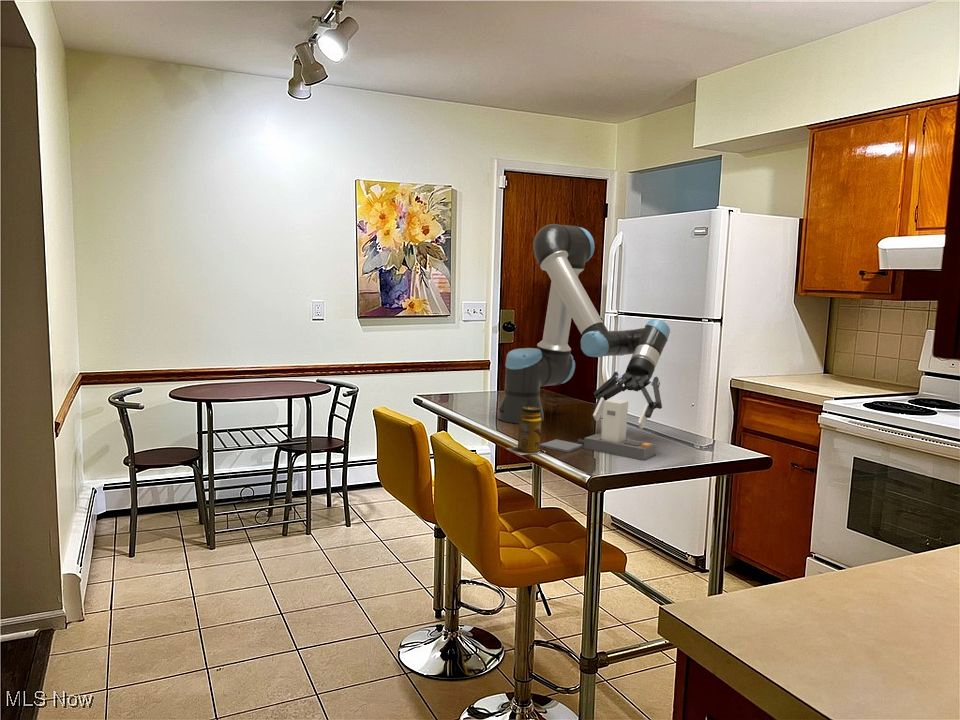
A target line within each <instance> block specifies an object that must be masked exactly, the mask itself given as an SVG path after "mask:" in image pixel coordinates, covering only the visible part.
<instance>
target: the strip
mask: <svg viewBox="0 0 960 720" xmlns="http://www.w3.org/2000/svg"><path fill="white" fill-rule="evenodd" d="M601 438H602V433H595V434H592V435H590V436H586V437H584V439H581V438H578V439H577V441H576V443H577V444H582V445H583V449H586V450H591V451H597V452H601V453H606V454H611V455H614V456H619V457H625V458H631V459H634V460H641V461H646V460H647V459H650V458H651V457H654V456H656V454H657V453H656V451H657V444H655V443H651V442H646V441H640V440H634V439H629V438H626V441H624V442H622V443H619V444H618V443H613V442H608V441H602V440H601Z"/></svg>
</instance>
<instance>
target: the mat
mask: <svg viewBox="0 0 960 720" xmlns="http://www.w3.org/2000/svg"><path fill="white" fill-rule="evenodd" d="M540 446H542V447H541V448H544V447H546V449H550V450H554V451H559V452H563V453H570V452H572V451H574V450H575V451H576V450H578V449H580V448H584V444H580V443H578V442H572V441H566V440H561V439H557V438H556V439H553V440H550V441H546V442H542V443H540Z"/></svg>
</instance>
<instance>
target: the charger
mask: <svg viewBox="0 0 960 720" xmlns="http://www.w3.org/2000/svg"><path fill="white" fill-rule="evenodd" d="M628 409H629V400H628V401H627V400H621V399H614V398H609V399H608V400H606V401H604V407H603V411H602V421H601V422H602V424H601V425H602V426H601V434H602V438H601V440H602V441H608V442H613V443H618V444H619V443H622V442H624V441H626V439H627V438H626V437H627V424H628V413H629V411H628Z"/></svg>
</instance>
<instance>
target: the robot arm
mask: <svg viewBox="0 0 960 720" xmlns="http://www.w3.org/2000/svg"><path fill="white" fill-rule="evenodd" d="M532 246H533V253H534V258H535V259H536V261H537V264H538V265H539V268H540V270H542V271H545V272H546V273H547V276H549V277H548V278H550V281H551V282H550V289H549V295H548V303H547V309H546V314H545V315H546V316H545V320H544V321H545V322H544V328H543V335H542V340H540V341H539V342H538V343H537V344H536V347H535V348H533V347H525V348H524V347H523V348H515V349H512V350H510V351H509V352H508V353H507V354H506V358H505V364H504V366H505V370H504V373H505V374H504V376H505V377H504V395H503V399H502V401H501V404H500V406H499V408H498V409H499V410H498V413H497V419H498V420H499V419H500V421H503V422H504V423H512V424H518V425H519V418H520V417H521V409H522V407H528V406H529V407H537V408H540V410H541V411H540V418H541V423H542V421H543V422H544V421H545V420H544V414H545V413H544V410H543V406H542V402H541V398H540V397H541V396H540V391H541V387H547V386H559V385H561V384H565V383H567V382H568V381H570V379H572V377H573V375H574V373H575V369H576V362H575V361H576V360H574V356H573V355H572V354H571V352H572V348H571V347H570V346H569V344H568V343H569V336H570V331H571V323H572V320H573V323H574V324H575V326H576V328H577V330H578V331H579V333H580V335H581V339H580V349H581V351H582V352H583V355H585V356H587V357H592V358H602V357H610V356H611V357H612V356H625V355H631V358H630V360H629V361H628V362H629V363H628V364H627V366H626V369H625V372H624V373H623V374H620V373H619V372H618V371H614V372H613V373H612V375H611V376H610V378H608V379H607V380H606V381H605V382H604V383H603V384H601V385H600V386H599V387H598V389H596V390H594V392H593V395H594V397H595V399H596V401H595V405H594V408H595V409H594V412H593V414H592V417H593V418H594V420H595V421H596V422H599V420H600V418H601V416H602V415H603V407H604V401H606V400H610V399H612V398H613V397H615V396H616V395H618V394H620V393H621V392H625V391H633V392H640V391H641V393H642V394H643V396H644V398H645V400H646V403H645V404H644V406H643V408H642V411H641V413H640V416H639V419H638V421H637V424H638V426H639V429H642V430H643V429H644V426H645V425H646V421H647V420H648V419H650V418H651V417H652V415H653V413H654V410H655V409H658V410H661V409H662V408H663V405H662V399H661V394H660V385H661V383H660V382H661V381H660V379H659V377H658V376H654V377H653V374H654V373H655V369H656V367H657V365H658V362H659V360H660V358H661V355H662V353H663V351H664V349H665V346H666V344H667V342H668V340H669V336H670V333H671V328H670V326H669V325H668V323H666V322H665V321H663V320H662V319H658V318H653V319H650V320H648V321H647V322H646V324H645V325H644V327H641V328H636V329H628V330H627V329H625V330H608V328H607V326H606V325H605V323H604V321H603V319H602V318H601V316H600V315H599V312H598V311H597V309H596V307H595V306H594V304H593V302H592V300H591V299H590V297H589V295H588V292H587V291H586V289H585V288H584V286H583V284H582V282H581V281H580V279H579V275H580V274H581V273H582V272H583V271H584V270H585V265H586V263H587V262H589V261H590V259H591V258H592V257H593V255H594V252H595V248H596V247H595V241H594V238H593V235H592V234H591V233H590V231H588V230H587V229H585V228H584V227H581V226H580V227H579V226H576V225H566V224H565V225H564V224H558V223H551V224H547V225H545V226H543V227H541V228H540V229H539V230H538V231H537V233H536V234H535V236H534V239H533V245H532ZM652 377H653V378H652ZM623 384H624V385H623ZM649 385H651V386H652V389H653V393H654V401H653V398H652V397H651V396H650V393H649V392H648V390H647V386H649Z"/></svg>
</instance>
